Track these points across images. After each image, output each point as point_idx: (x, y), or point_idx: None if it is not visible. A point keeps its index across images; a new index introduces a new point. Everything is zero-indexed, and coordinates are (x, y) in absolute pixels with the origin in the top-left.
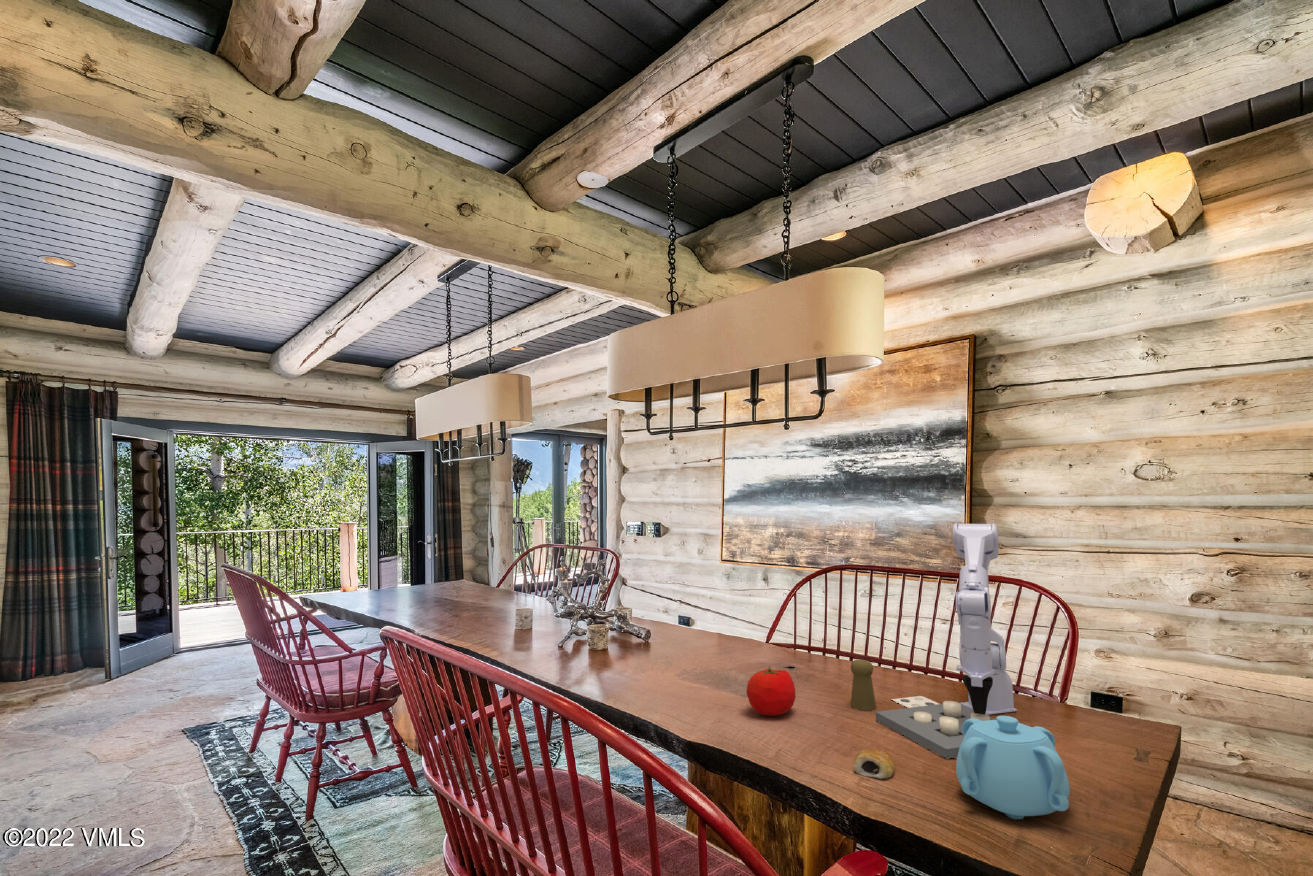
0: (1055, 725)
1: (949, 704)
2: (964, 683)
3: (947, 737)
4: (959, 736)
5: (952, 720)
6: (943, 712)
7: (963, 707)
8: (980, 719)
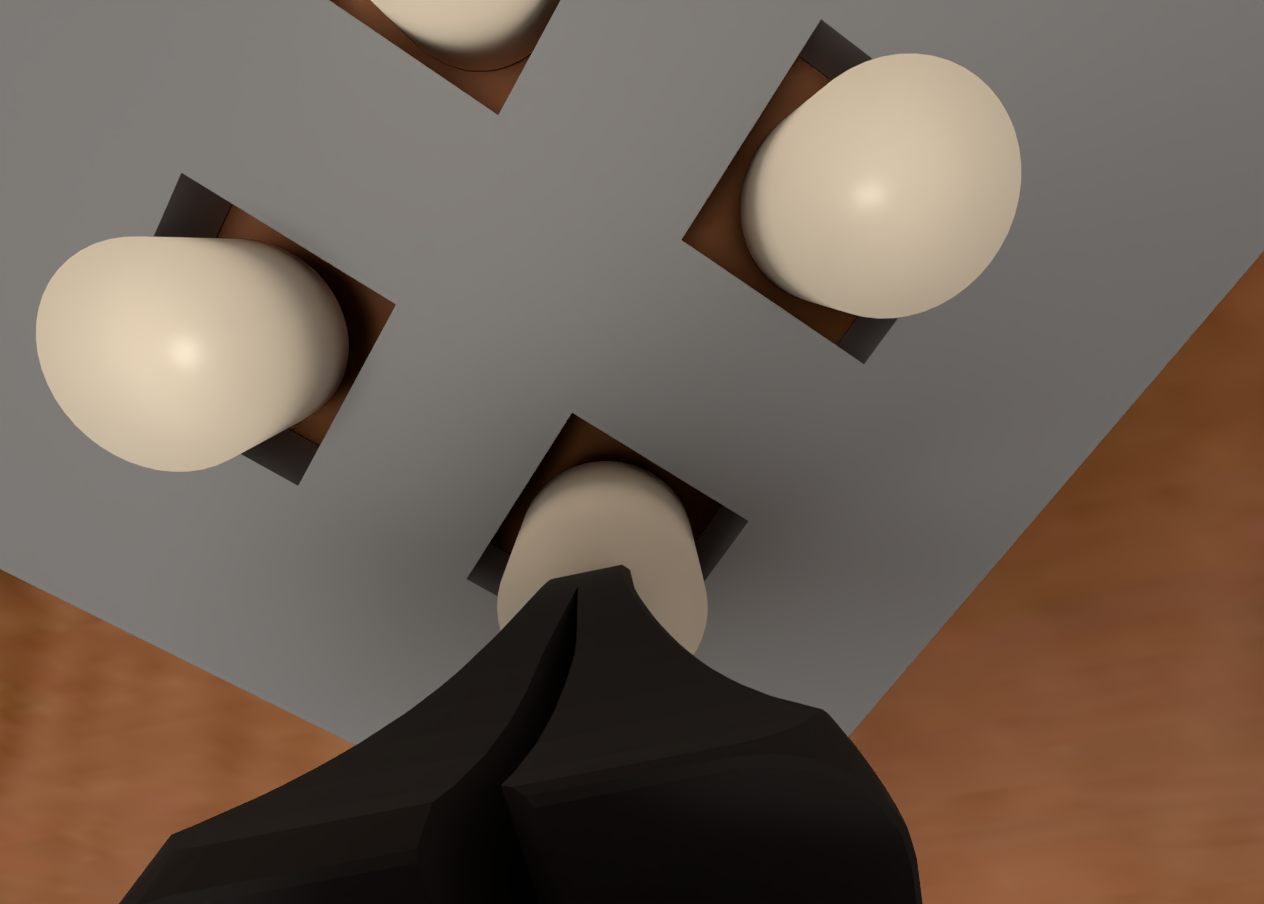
0: (1260, 872)
1: (825, 176)
2: (156, 856)
3: None
4: None
5: (160, 406)
6: None
7: (1222, 232)
8: None
